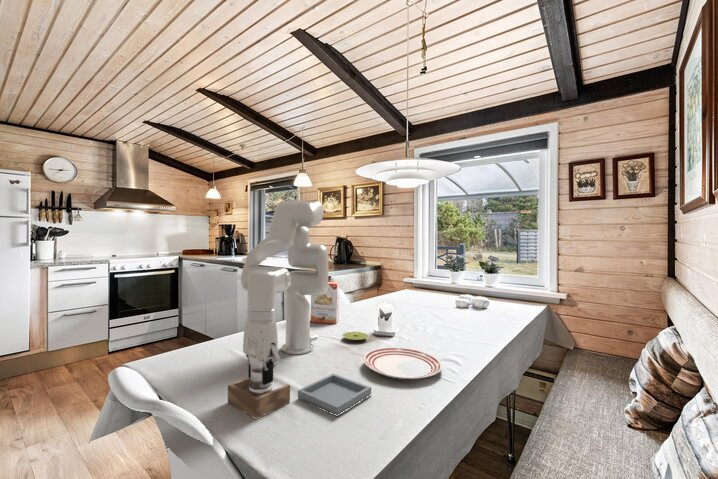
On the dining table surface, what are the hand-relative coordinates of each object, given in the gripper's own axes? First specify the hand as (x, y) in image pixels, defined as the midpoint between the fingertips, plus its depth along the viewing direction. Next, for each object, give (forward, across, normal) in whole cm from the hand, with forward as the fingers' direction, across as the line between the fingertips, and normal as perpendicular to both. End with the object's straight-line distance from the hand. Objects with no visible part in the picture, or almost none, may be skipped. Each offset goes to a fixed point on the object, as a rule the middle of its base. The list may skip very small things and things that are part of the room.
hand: (260, 379), depth 96 cm
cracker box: (+7, -44, +72) cm, 85 cm away
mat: (+7, -14, +60) cm, 62 cm away
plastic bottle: (+7, 0, 0) cm, 7 cm away
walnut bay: (+6, 0, 0) cm, 7 cm away
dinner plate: (+7, +18, +46) cm, 50 cm away
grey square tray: (+6, +14, +16) cm, 22 cm away
